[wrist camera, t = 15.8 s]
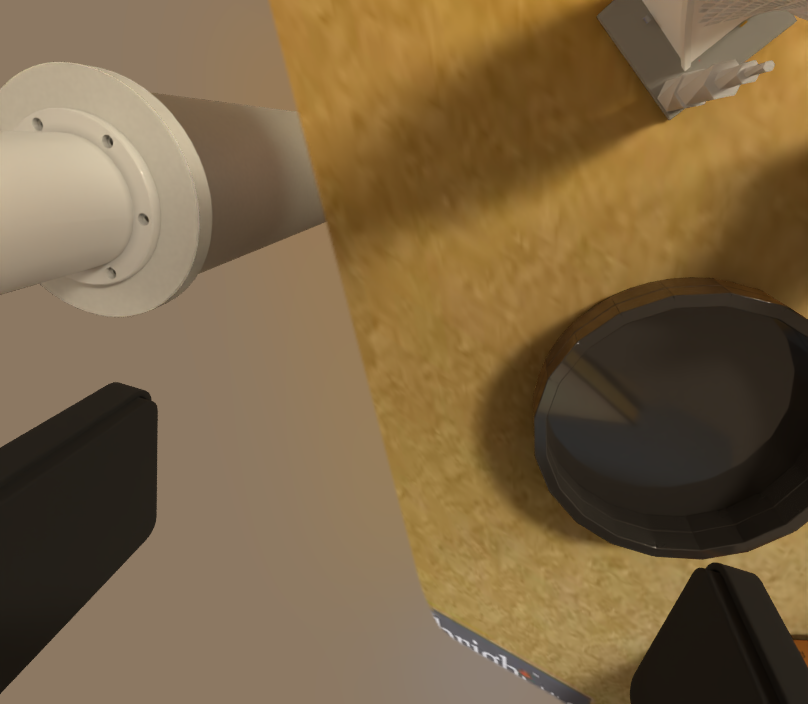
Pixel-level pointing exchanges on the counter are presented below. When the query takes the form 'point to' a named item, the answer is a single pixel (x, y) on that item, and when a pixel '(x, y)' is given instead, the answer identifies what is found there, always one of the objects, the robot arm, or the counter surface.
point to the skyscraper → (696, 44)
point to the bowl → (679, 419)
